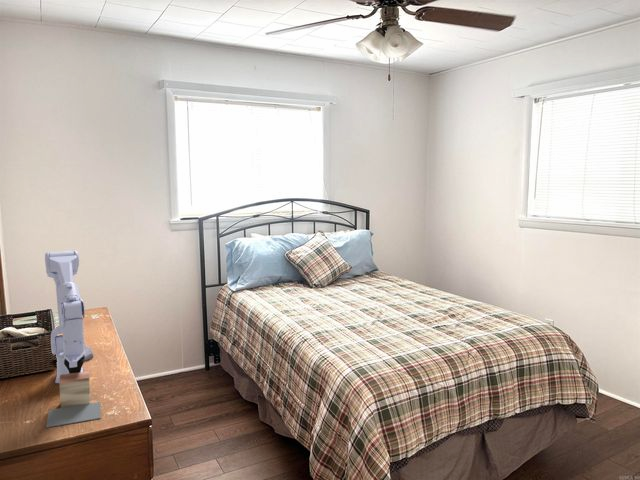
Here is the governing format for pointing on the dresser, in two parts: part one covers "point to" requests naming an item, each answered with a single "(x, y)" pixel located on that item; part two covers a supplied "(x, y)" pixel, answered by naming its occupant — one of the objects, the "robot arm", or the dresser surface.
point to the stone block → (88, 352)
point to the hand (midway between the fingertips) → (75, 380)
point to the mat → (74, 414)
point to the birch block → (74, 389)
